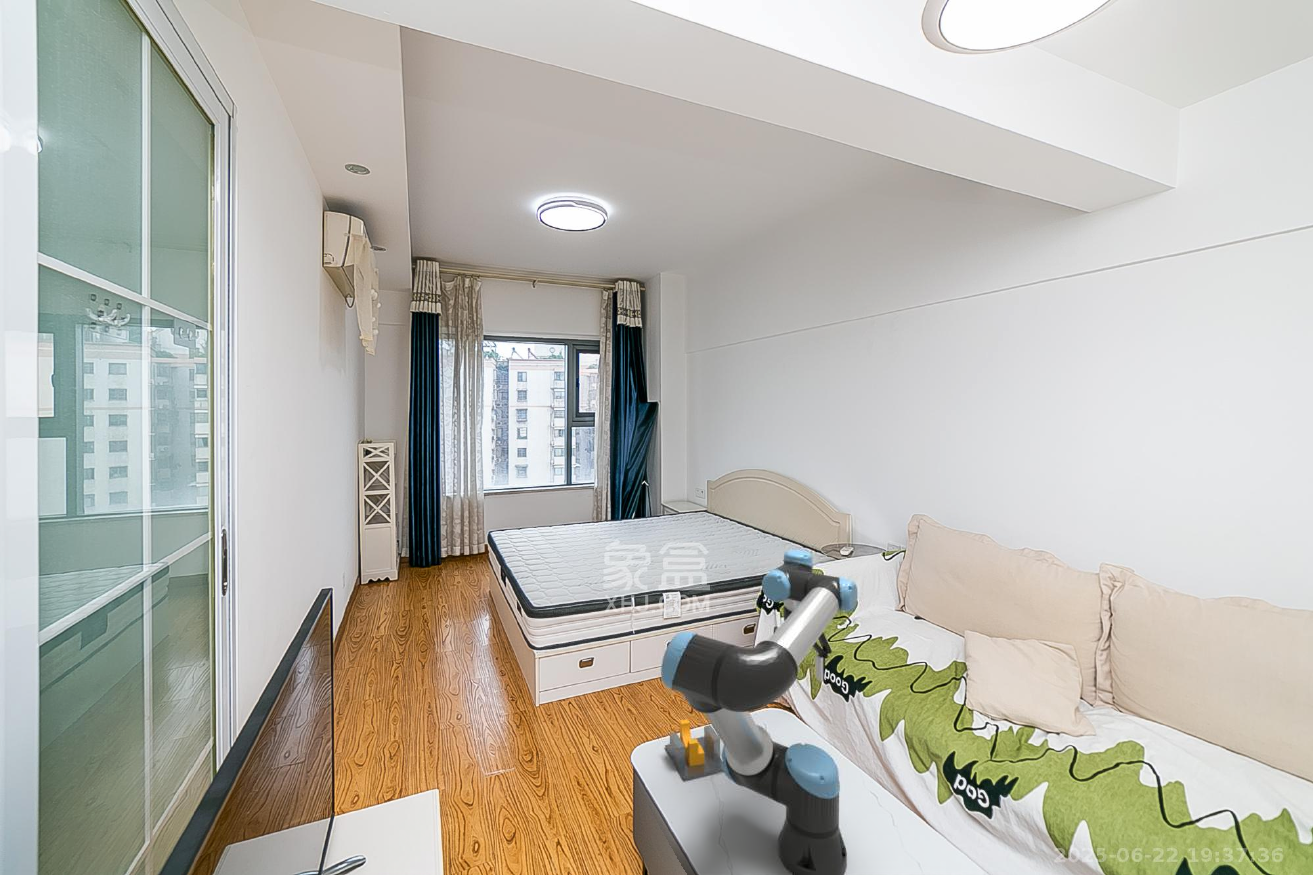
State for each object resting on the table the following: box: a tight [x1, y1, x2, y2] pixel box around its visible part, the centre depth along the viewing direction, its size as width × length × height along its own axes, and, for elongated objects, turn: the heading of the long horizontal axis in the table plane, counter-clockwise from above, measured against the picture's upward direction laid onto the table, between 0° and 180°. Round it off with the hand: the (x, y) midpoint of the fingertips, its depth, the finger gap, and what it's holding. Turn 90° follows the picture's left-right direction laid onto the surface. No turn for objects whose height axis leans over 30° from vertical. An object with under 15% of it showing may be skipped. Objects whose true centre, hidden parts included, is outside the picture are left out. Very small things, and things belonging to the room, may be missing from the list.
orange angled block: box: [679, 719, 705, 766], centre depth 162 cm, size 12×4×6 cm, turn 11°
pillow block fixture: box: [664, 724, 724, 782], centre depth 160 cm, size 16×13×7 cm
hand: (798, 683), depth 150 cm, fingers open, 13 cm apart
